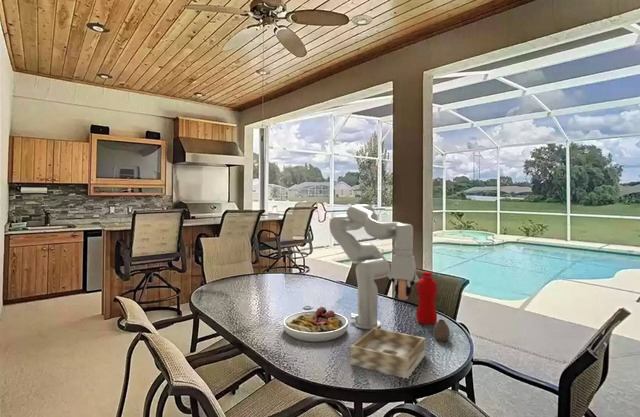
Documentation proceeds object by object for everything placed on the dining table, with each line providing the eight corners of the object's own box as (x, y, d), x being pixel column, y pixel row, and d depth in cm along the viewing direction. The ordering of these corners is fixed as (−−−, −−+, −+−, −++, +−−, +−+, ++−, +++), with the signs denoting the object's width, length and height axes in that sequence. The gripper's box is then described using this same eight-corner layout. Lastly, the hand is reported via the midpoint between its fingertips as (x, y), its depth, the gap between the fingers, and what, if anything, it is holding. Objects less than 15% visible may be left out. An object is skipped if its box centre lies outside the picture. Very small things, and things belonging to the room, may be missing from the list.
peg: (396, 298, 161) (397, 275, 161) (399, 296, 165) (400, 274, 164) (405, 300, 159) (406, 277, 159) (408, 298, 163) (409, 275, 162)
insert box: (350, 364, 141) (350, 346, 141) (373, 343, 160) (373, 327, 160) (407, 379, 130) (408, 359, 130) (425, 355, 149) (425, 337, 149)
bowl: (342, 347, 157) (342, 329, 157) (274, 341, 163) (274, 323, 163) (351, 322, 187) (351, 307, 186) (293, 318, 193) (293, 303, 192)
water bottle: (433, 317, 192) (434, 269, 191) (437, 325, 182) (438, 274, 180) (415, 317, 193) (415, 269, 192) (418, 324, 182) (419, 273, 181)
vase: (446, 336, 168) (446, 317, 167) (452, 343, 161) (452, 322, 160) (430, 336, 168) (431, 317, 167) (436, 343, 161) (436, 323, 160)
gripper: (382, 252, 162) (381, 293, 163) (420, 255, 153) (419, 300, 154) (388, 249, 168) (387, 289, 169) (425, 253, 160) (424, 295, 161)
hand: (402, 294), depth 162 cm, fingers closed on peg, 4 cm apart
